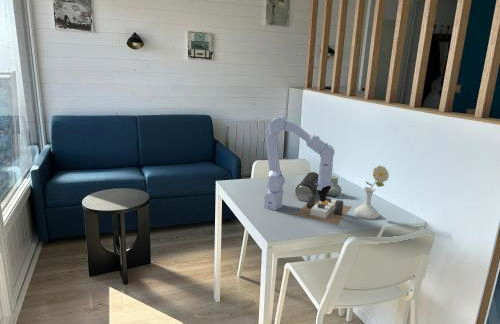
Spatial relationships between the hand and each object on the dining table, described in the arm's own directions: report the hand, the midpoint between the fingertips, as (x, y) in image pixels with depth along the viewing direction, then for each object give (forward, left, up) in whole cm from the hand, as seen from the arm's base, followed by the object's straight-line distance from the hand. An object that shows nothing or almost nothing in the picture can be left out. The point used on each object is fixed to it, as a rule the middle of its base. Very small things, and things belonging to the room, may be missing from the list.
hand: (322, 201), depth 166 cm
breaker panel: (+4, 0, -7) cm, 8 cm away
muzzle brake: (+23, +21, -3) cm, 31 cm away
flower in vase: (+11, -19, -7) cm, 23 cm away
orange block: (+4, 0, -3) cm, 5 cm away
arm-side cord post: (+4, +7, -6) cm, 10 cm away
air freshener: (+32, +5, -7) cm, 33 cm away
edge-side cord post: (+4, -7, -6) cm, 10 cm away
